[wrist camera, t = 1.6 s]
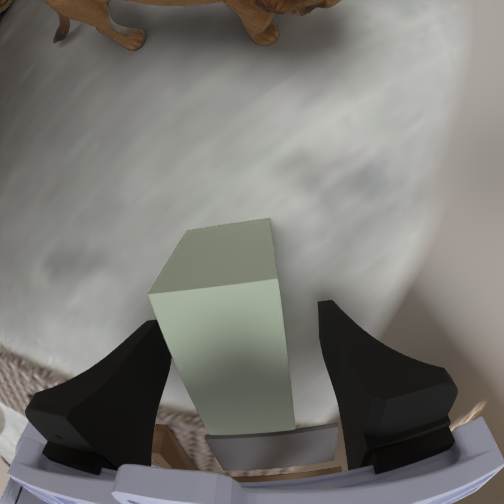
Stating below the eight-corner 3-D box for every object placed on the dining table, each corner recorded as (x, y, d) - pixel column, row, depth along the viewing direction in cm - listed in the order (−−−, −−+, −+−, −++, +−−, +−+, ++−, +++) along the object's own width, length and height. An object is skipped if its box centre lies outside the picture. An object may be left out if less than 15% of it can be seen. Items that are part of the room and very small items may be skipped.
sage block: (220, 353, 17) (209, 435, 12) (187, 229, 14) (147, 294, 9) (286, 346, 17) (295, 429, 12) (269, 217, 14) (278, 278, 8)
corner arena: (197, 479, 26) (195, 500, 23) (155, 424, 21) (148, 452, 18) (340, 469, 25) (344, 491, 22) (351, 410, 20) (359, 440, 17)
